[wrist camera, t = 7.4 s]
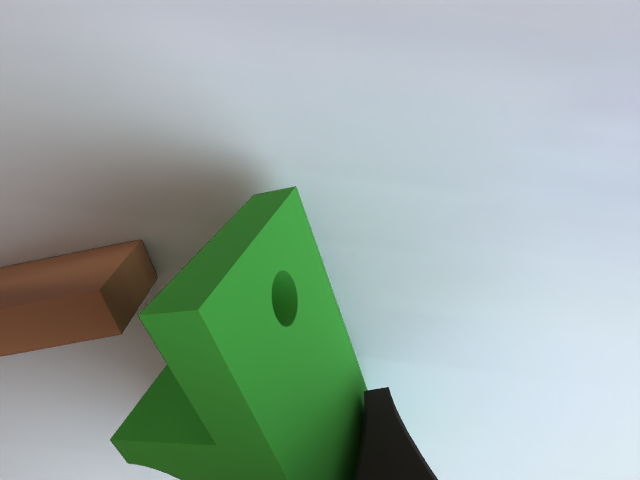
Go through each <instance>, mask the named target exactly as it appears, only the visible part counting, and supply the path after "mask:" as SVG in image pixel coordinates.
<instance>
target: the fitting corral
mask: <svg viewBox="0 0 640 480" xmlns="http://www.w3.org/2000/svg"><path fill="white" fill-rule="evenodd" d="M157 278H158V277H157V275H156V272H155V270H154V268H153V266H152V263H151V261H150V259H149V256H148V254H147V252H146V249H145V247H144V245H143V242H142V240H137V241H132V242H127V243H122V244H117V245H112V246H107V247H102V248H97V249H92V250H87V251H82V252H77V253H72V254H67V255H62V256H57V257H52V258H47V259H42V260H37V261H32V262H27V263H22V264H17V265H12V266H7V267H2V268H0V357H1V356H6V355H12V354H17V353H23V352H28V351H34V350H39V349H44V348H50V347H55V346H61V345H66V344H71V343H77V342H82V341H88V340H93V339H99V338H104V337H109V336H115V335H120V334H122V333H123V331H124V330H125V328H126V327H127V325H128V323H129V322H130V320H131V319H132V317H133V316H134V314H135V312H136V311H137V309H138V308H139V306H140V305H141V303H142V301H143V300H144V298H145V297H146V295H147V294H148V292H149V290H150V289H151V287H152V286H153V284H154V283H155V281H156V279H157Z"/></svg>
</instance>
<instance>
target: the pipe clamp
mask: <svg viewBox="0 0 640 480" xmlns="http://www.w3.org/2000/svg"><path fill="white" fill-rule="evenodd" d="M138 317H139V318H140V320H141V322H142V323H143V325H144V327H145V328H146V330H147V332H148V333H149V335H150V336H151V338H152V340H153V341H154V343H155V345H156V346H157V348H158V350H159V351H160V353H161V355H162V356H163V358H164V360H165V361H166V363H167V366H166V367H165V368H164V369H163V371H162V372H161V373H160V375H159V376H158V377H157V379H156V380H155V381H154V383H153V384H152V385H151V387H150V388H149V389H148V391H147V392H146V393H145V394H144V396H143V397H142V398H141V400H140V401H139V402H138V404H137V405H136V406H135V408H134V409H133V410H132V412H131V413H130V414H129V416H128V417H127V418H126V419H125V421H124V422H123V423H122V425H121V426H120V427H119V429H118V430H117V431H116V433H115V434H114V435H113V437H112V438H111V439H110V441H111V442H112V443H113V444H114V446H115V447H116V448H117V450H118V451H119V452H120V454H121V455H122V456H123V458H124V459H125V460H126V462H127V463H129V464H137V465H142V466H146V467H150V468H153V469H156V470H159V471H162V472H164V473H167V474H170V475H172V476H174V477H176V478H178V479H180V480H354V475H355V471H356V467H357V462H358V456H359V450H360V444H361V438H362V431H363V422H364V391H368V390H367V387H366V384H365V382H364V379H363V376H362V373H361V370H360V367H359V365H358V362H357V359H356V356H355V353H354V350H353V347H352V345H351V342H350V339H349V336H348V333H347V330H346V327H345V325H344V322H343V319H342V316H341V313H340V310H339V307H338V305H337V302H336V299H335V296H334V293H333V290H332V287H331V285H330V282H329V279H328V276H327V273H326V270H325V267H324V265H323V262H322V259H321V256H320V253H319V250H318V247H317V245H316V242H315V239H314V236H313V233H312V230H311V227H310V225H309V222H308V219H307V216H306V213H305V210H304V207H303V205H302V202H301V199H300V196H299V193H298V190H297V187H296V186H295V187H291V188H286V189H281V190H276V191H271V192H266V193H261V194H256V195H253V196H252V197H251V199H250V200H249V201H248V202H247V203H246V204H245V205H244V206H243V207H242V208H241V209H240V210H239V211H238V212H237V213H236V214H235V215H234V216H233V217H232V218H231V219H230V220H229V221H228V222H227V223H226V224H225V226H224V227H223V228H222V229H221V230H220V231H219V232H218V233H217V234H216V235H215V236H214V237H213V238H212V239H211V240H210V241H209V242H208V243H207V244H206V245H205V246H204V247H203V248H202V249H201V250H200V251H199V252H198V254H197V255H196V256H195V257H194V258H193V259H192V260H191V261H190V262H189V263H188V264H187V265H186V266H185V267H184V268H183V269H182V270H181V271H180V272H179V273H178V274H177V275H176V276H175V277H174V278H173V279H172V281H171V282H170V283H169V284H168V285H167V286H166V287H165V288H164V289H163V290H162V291H161V292H160V293H159V294H158V295H157V296H156V297H155V298H154V299H153V300H152V301H151V302H150V303H149V304H148V305H147V306H146V308H145V309H144V310H143V311H142V312H141V313H140V314H139V315H138Z"/></svg>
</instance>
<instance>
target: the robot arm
mask: <svg viewBox="0 0 640 480" xmlns="http://www.w3.org/2000/svg"><path fill="white" fill-rule="evenodd" d="M354 480H438V479H437V477H436V476H435V475H434V473H433V472H432V470H431V469H430V467H429V466H428V464H427V463H426V461H425V459H424V458H423V456H422V455H421V453H420V451H419V450H418V448H417V446H416V445H415V443H414V441H413V440H412V438H411V436H410V435H409V433H408V431H407V429H406V427H405V425H404V423H403V421H402V419H401V418H400V416H399V413H398V411H397V409H396V407H395V405H394V402H393V399H392V397H391V394H390V390H389V387H386V388H380V389H374V390H368V391H364V422H363V431H362V438H361V444H360V450H359V456H358V462H357V467H356V471H355V475H354Z"/></svg>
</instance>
